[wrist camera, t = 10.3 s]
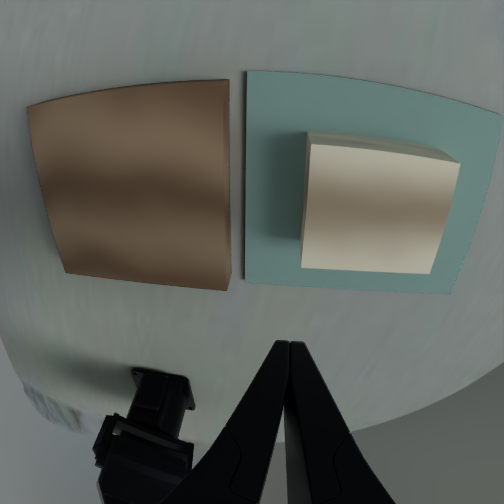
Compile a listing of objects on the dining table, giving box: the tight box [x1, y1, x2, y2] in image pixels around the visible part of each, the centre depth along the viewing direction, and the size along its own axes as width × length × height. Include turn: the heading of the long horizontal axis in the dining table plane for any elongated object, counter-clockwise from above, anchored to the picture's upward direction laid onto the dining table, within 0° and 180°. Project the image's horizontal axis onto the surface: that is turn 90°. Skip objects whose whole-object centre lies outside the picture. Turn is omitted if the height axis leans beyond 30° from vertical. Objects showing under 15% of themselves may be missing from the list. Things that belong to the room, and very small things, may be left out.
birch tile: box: [300, 131, 460, 274], centre depth 17 cm, size 7×8×3 cm
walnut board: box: [27, 79, 232, 291], centre depth 19 cm, size 13×13×2 cm
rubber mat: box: [245, 71, 503, 294], centre depth 19 cm, size 14×16×1 cm
